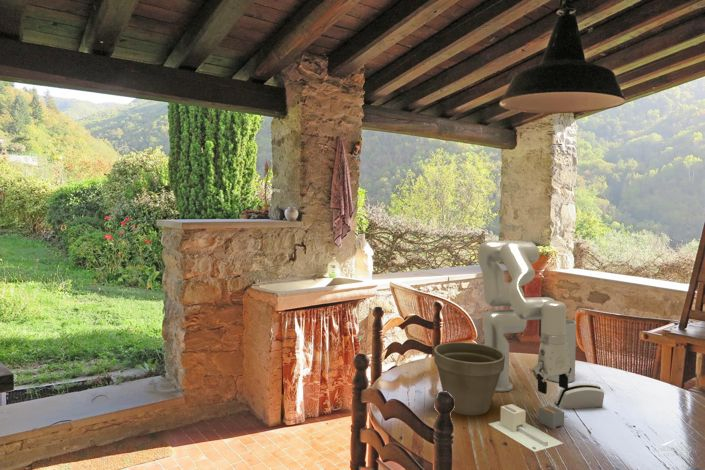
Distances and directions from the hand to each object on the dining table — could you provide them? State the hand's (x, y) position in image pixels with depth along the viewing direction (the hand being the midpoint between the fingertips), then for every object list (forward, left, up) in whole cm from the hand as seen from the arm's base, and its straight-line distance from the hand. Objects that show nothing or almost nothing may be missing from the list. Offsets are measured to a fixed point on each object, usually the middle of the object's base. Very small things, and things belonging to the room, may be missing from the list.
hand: (552, 390), depth 154 cm
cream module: (-5, -13, -12) cm, 18 cm away
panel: (0, -13, -13) cm, 18 cm away
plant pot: (-24, -16, -13) cm, 31 cm away
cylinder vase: (-33, +40, -13) cm, 53 cm away
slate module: (-1, 0, -13) cm, 13 cm away
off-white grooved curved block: (-8, +23, -13) cm, 28 cm away
